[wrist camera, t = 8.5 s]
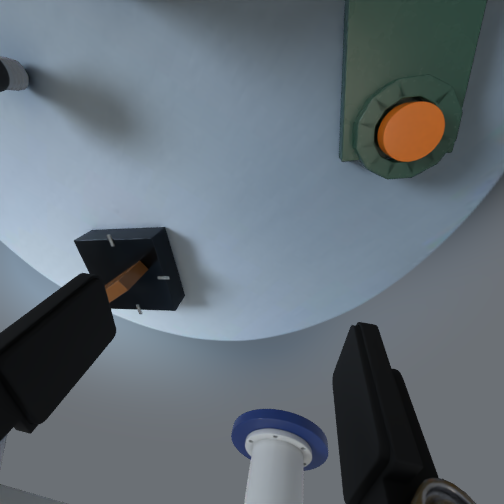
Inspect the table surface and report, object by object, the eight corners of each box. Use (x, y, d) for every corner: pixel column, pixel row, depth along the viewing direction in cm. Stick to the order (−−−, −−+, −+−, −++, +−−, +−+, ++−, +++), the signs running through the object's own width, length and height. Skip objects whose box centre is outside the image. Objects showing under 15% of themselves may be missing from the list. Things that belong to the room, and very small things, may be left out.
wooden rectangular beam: (140, 260, 29) (116, 281, 26) (148, 269, 30) (126, 292, 26) (105, 284, 32) (79, 307, 28) (113, 292, 32) (89, 316, 29)
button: (427, 155, 19) (438, 159, 17) (374, 159, 20) (380, 164, 18) (438, 98, 17) (451, 97, 16) (380, 105, 18) (387, 105, 16)
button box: (436, 164, 22) (460, 174, 19) (338, 171, 24) (343, 182, 20) (517, -227, 13) (591, -344, 10) (351, -171, 15) (365, -254, 11)
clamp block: (190, 299, 35) (180, 315, 32) (118, 297, 37) (103, 312, 35) (168, 221, 30) (154, 233, 27) (85, 225, 32) (65, 236, 29)
